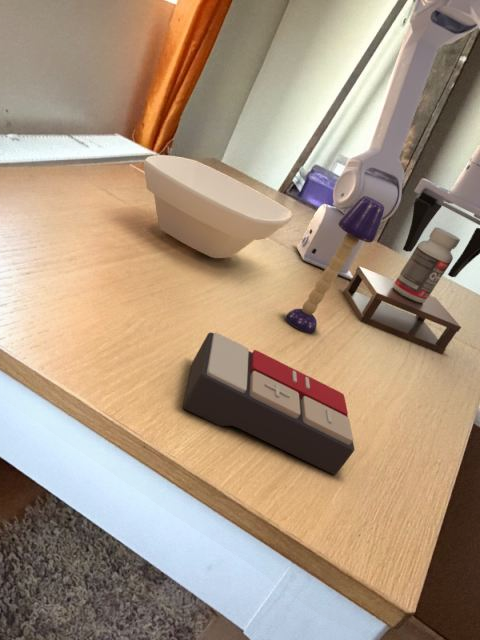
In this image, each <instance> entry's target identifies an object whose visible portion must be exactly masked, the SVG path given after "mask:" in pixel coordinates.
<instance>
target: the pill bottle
mask: <svg viewBox="0 0 480 640" xmlns="http://www.w3.org/2000/svg"><path fill="white" fill-rule="evenodd" d="M460 241H461V239H460V237H458V236H456V235H455V234H453V233H451V232H449V231H447V230H445V229H443V228H440V227H437V226H435V227H434V228H433V229H432V231H431V232H430V234H429V239H428V240H422V241H420V242H419V243H417V246H415V248H414V250H413V252H412V254H411V255H410V257H409V259H408V261H406V264H405V265H404V267H403V268H402V269H401V271H400V273H399V274H398V276H397V278H396V279H395V280H394V281H395V283H394V285H393V288H394V289H395V290H396V291H397V292H398V293H399V294H401V295H403V296H404V297H406V298H408V299H410V300H413V301H415V302H418V303H424V302H425V301H426V300H427V298H428V297H429V295H430V296H431V294H432V292H433V291H434V290H435V288H436V286H437V285H438V283H439V282H440V280H441V279H442V277H443V276H444V274H445V272H446V271H447V270H448V268H449V266H450V265H451V263H452V262H453V260H454V256H453V254H452V253H451V252H452V250H455V248H457V246H458V245H459V243H460Z"/></svg>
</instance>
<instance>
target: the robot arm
mask: <svg viewBox="0 0 480 640" xmlns="http://www.w3.org/2000/svg"><path fill="white" fill-rule="evenodd" d="M477 29H479V30H480V0H415V3H414V6H413V9H412V12H411V15H410V18H409V24H408V26H407V29H406V31H405V34H404V36H403V40H402V43H401V46H400V49H399V52H398V55H397V57H396V61H395V64H394V67H393V68H392V72H391V75H390V78H389V81H388V84H387V87H386V90H385V94H384V96H383V99H382V102H381V105H380V107H379V111H378V113H377V116H376V119H375V122H374V126H373V128H372V131H371V133H370V137H369V140H368V143H367V146H366V149H365V150H363V151H361V152H360V153H357V154H355V155H353V156H351V157H350V158H348V159H346V163H345V166H344V169H343V171H342V172H341V174H340V175H339V176H338V178H337V180H336V182H335V184H334V186H333V194H332V199H333V203H332V205H329V204H326V203H323V204H321V205H320V206H319V207H318V209H317V210H316V211H315V212H314V214H313V217H312V219H311V220H310V222H309V224H308V226H307V228H306V230H305V232H304V234H303V236H302V237H301V239H300V240H299V243H298V244H297V245H296V249H297V251H298V252H299V254H300V256H301V258H302V260H303V262H306V263H308V264H311V265H313V266H317V267H319V268H321V269H323V270H325V269H326V268H327V267H328V266H329V263H330V260H331V259H332V257H333V256H335V255H336V251H337V249H338V247H339V246H340V245H341V244H342V243H343V239H344V237H345V235H346V234H347V232H345V231H344V230H343V229H341V227H340V226H339V221H340V220H341V219H342V218H343V217H344V215H345V214H346V213H347V212H348V211H349V210H350V209H351V208H352V207H353V206H354V205H355V204H356V203H357V202H358V201H359V200H360V199H361V198H362V197H363V196H368V197H370V198H372V199H374V200H376V201H378V202H380V203H381V204H382V205H384V213H383V216H382V219H381V222H380V224H381V223H382V222H384V221H386V220H388V219H390V218H391V217H392V216H393V215H394V214H395V212H396V211H397V209H398V208H399V206H400V203H401V201H402V194H403V193H402V192H403V190H402V189H403V184H404V181H405V178H406V173H405V169H404V167H403V164H402V162H401V155H402V151H403V149H404V146H405V144H406V140H407V138H408V135H409V132H410V130H411V126H412V123H413V121H414V117H415V114H416V112H417V109H418V107H419V103H420V101H421V99H422V95H423V93H424V90H425V87H426V84H427V81H428V78H429V75H430V73H431V69H432V67H433V64H434V61H435V59H436V56H437V54H438V51H439V49H441V48H442V47H444V45H450V44H453V43H455V42H456V41H458V40H460V39H461V38H464V37H465V36H466V35H468V34H470V33H472V32H473V31H475V30H477ZM413 192H414V193H416V194H418V195H419V196H418V197H415V199H414V201H413V211H412V217H411V223H410V228H409V231H408V233H407V238H406V240H405V243H404V246H403V248H402V250H403V251H405V252H410V253H411V252H412V251H414V249H415V248H416V245H418V242H419V241H420V238H421V237H422V235H423V233H424V231H425V230H426V229H427V227H428V226H429V224H430V223H431V221H432V220H433V218H434V217H435V216H436V215H437V213H439V211H440V210H441V208H442V207H444V208H446V209H448V210H449V211H451V212H454V213H455V214H457V215H459V216H461V217H463V218H465V219H467V220H468V221H471V222H472V223H475V224H477V225H478V226H480V143H479V144H478V146H477V148H476V149H475V151H474V152H473V154H472V156H471V157H470V158H469V160H468V162H467V164H466V165H465V167H464V168H463V170H462V172H461V173H460V174H459V176H458V178H457V180H456V182H454V185H453V186H452V188H451V190H449V189H447V188H445V187H443V186H440V185H439V184H436V183H435V182H432V181H431V180H428V179H426V178H420V180H419V182H418V184H417V186H416V187H415V189H414V190H413ZM453 205H456V206H458V207H459V208H460V209H459V208H457V207H455V206H453ZM461 209H463V210H465V211H467V212H469V213H472V214H473V216H472V215H470V214H469V213H466V212H465V211H463V210H461ZM365 244H366V242H365V241H362V240H360V239H359V241H358V243H357V245H356V246H355V247H353V248H352V253H351V255H350V256H349V257H348V258H347V259H346V260H345V264H344V266H343V267H342V269H341V270H339V271H338V276H340V277H342V278H345V279H347V280H350V281H351V280H352V278H353V276H354V275H353V274H352V273H351V271H350V269H351V267H352V266H353V264H354V262H355V260H356V259H357V257H358V255H359V254H360V252H361V250H362V248H363V247H364V245H365ZM479 255H480V227H476V228H475V229H474V231H473V234H472V235H471V237H470V239H469V241H468V243H467V244H466V246H465V248H464V249H463V251H462V253H461V254H460V256H459V257H458V258H457V260H456V261H455V262H454V264H453V265H452V267H451V268H450V270H449V272H448V273H447V276H449V277H450V278H457V276H458V274H460V273H461V271H463V270H464V268H465V267H466V266H468V264H470V263H471V261H473V260H474V259H475V258H477V256H479Z"/></svg>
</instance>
